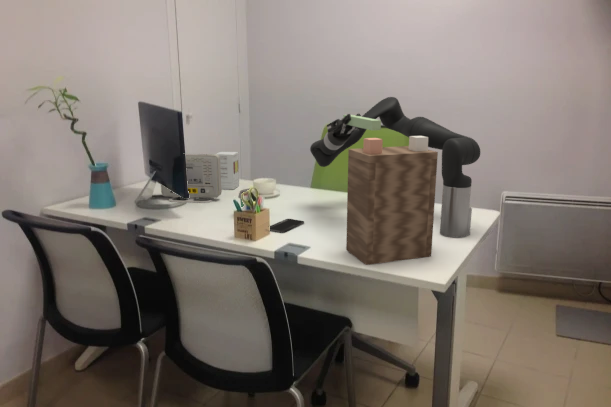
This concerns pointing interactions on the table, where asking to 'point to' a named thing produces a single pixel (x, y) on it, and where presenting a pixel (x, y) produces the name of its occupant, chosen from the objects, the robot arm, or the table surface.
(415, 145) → the grey block
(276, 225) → the phone
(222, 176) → the supplement box
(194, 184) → the network device
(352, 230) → the walnut stand
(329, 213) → the table surface
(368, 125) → the sage green bar
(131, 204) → the table surface
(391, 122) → the robot arm
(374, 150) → the terracotta block
